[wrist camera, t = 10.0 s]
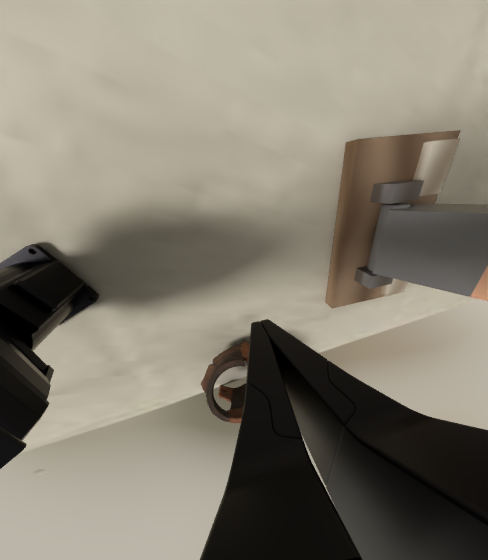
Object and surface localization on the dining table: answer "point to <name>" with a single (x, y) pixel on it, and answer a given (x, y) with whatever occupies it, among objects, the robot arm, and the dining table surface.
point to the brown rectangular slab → (371, 195)
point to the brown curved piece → (233, 395)
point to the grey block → (433, 246)
